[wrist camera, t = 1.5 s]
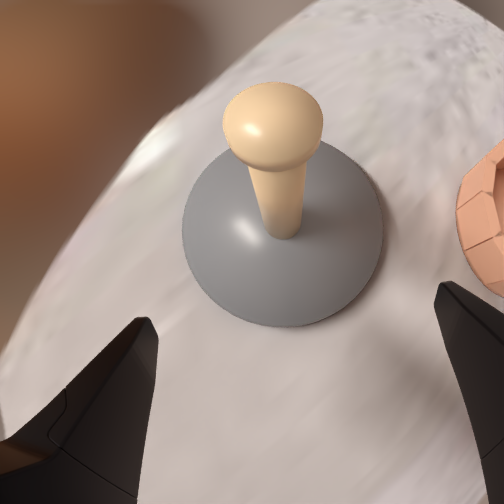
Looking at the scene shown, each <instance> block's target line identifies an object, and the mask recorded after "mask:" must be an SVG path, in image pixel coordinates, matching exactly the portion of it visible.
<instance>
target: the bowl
mask: <svg viewBox="0 0 504 504" xmlns="http://www.w3.org/2000/svg"><path fill="white" fill-rule="evenodd" d="M456 224H457V231H458V236H459V240H460V243H461V246H462V249H463V252H464V255H465V257H466V259H467V261H468V263H469V265H470V267H471V269H472V270H473V272H474V273H475V275H476V276H477V278H478V279H479V280H480V281H481V282H482V283H483V284H484V285H485V286H486V287H487V288H488V289H489V290H490V291H492V292H493V293H495V294H497V295H499V296H501V297H504V139H503V140H502V141H501V142H500V143H499V144H498V145H497V146H495V147H494V148H493V149H492V150H491V151H490V152H489V153H488V154H487V155H486V156H485V157H484V158H483V159H482V160H481V161H480V162H479V163H478V164H476V165H475V166H474V167H473V168H472V169H471V170H470V171H469V172H468V173H467V174H466V175H465V176H464V177H463V181H462V184H461V186H460V188H459V192H458V195H457V201H456Z"/></svg>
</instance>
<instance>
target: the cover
mask: <svg viewBox="0 0 504 504" xmlns="http://www.w3.org/2000/svg"><path fill="white" fill-rule="evenodd" d="M322 128H323V114H322V111H321V108H320V106H319V104H318V103H317V101H316V100H315V99H314V98H313V97H312V96H311V95H310V94H309V93H308V92H306V91H305V90H303V89H301V88H299V87H297V86H294V85H291V84H287V83H281V82H267V83H261V84H257V85H254V86H251V87H249V88H247V89H245V90H243V91H242V92H240V93H239V94H238V95H236V96H235V97H234V98H233V99H232V100H231V102H230V103H229V104H228V106H227V108H226V110H225V113H224V117H223V129H224V133H225V136H226V139H227V142H228V144H229V147H230V149H228V150H226V151H225V152H224V153H222V154H221V155H219V156H218V157H217V158H216V159H215V160H214V161H213V162H212V163H210V164H209V165H208V167H207V168H206V169H205V170H204V171H203V172H202V174H201V175H200V177H199V178H198V180H197V181H196V183H195V184H194V186H193V188H192V190H191V192H190V194H189V197H188V200H187V203H186V206H185V210H184V215H183V224H182V238H183V246H184V251H185V256H186V259H187V262H188V265H189V267H190V269H191V271H192V273H193V275H194V277H195V279H196V281H197V282H198V284H199V285H200V286H201V288H202V289H203V291H204V292H205V293H206V294H207V295H208V296H209V297H210V298H211V299H212V300H213V301H214V302H215V303H217V304H218V305H219V306H220V307H222V308H223V309H224V310H226V311H228V312H229V313H231V314H233V315H234V316H236V317H239V318H241V319H243V320H246V321H248V322H251V323H255V324H259V325H263V326H271V327H295V326H301V325H306V324H310V323H313V322H317V321H320V320H322V319H324V318H326V317H329V316H331V315H333V314H334V313H336V312H337V311H339V310H341V309H342V308H344V307H345V306H346V305H347V304H348V303H350V302H351V301H352V300H353V299H354V298H355V297H356V296H357V295H358V294H359V293H360V292H361V290H362V289H363V288H364V287H365V285H366V284H367V282H368V281H369V279H370V278H371V276H372V274H373V272H374V270H375V267H376V265H377V262H378V259H379V256H380V253H381V248H382V242H383V220H382V212H381V208H380V204H379V201H378V198H377V196H376V193H375V191H374V189H373V187H372V185H371V183H370V182H369V180H368V178H367V177H366V176H365V174H364V173H363V172H362V170H361V169H360V168H359V167H358V166H357V165H356V164H355V163H354V162H353V161H352V160H351V159H350V158H349V157H348V156H346V155H345V154H344V153H343V152H341V151H339V150H338V149H336V148H335V147H333V146H331V145H329V144H327V143H325V142H322V141H321V135H322Z"/></svg>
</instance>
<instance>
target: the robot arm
mask: <svg viewBox="0 0 504 504" xmlns="http://www.w3.org/2000/svg"><path fill="white" fill-rule="evenodd" d="M434 309H435V313H436V316H437V319H438V323H439V326H440V329H441V333H442V336H443V340H444V344H445V347H446V350H447V353H448V356H449V358H450V361H451V364H452V367H453V369H454V372H455V375H456V378H457V381H458V384H459V386H460V389H461V392H462V395H463V399H464V402H465V405H466V408H467V411H468V415H469V418H470V421H471V425H472V428H473V432H474V436H475V440H476V443H477V447H478V451H479V455H480V459H481V465H482V469H483V474H484V479H485V484H486V489H487V495H488V500H489V504H504V314H503V313H502V312H500V311H499V310H497V309H496V308H494V307H493V306H491V305H489V304H488V303H486V302H485V301H483V300H482V299H480V298H479V297H477V296H475V295H474V294H472V293H471V292H469V291H467V290H466V289H464V288H463V287H461V286H459V285H458V284H456V283H455V282H453V281H446V282H441V283H440V284H439V286H438V290H437V294H436V298H435V301H434ZM158 342H159V340H158V335H157V332H156V330H155V328H154V326H153V324H152V322H151V320H150V319H149V318H148V317H136V318H135V319H134V320H133V321H132V322H131V323H130V324H128V325H127V326H126V327H125V328H124V329H123V330H122V331H121V332H120V333H119V334H118V335H117V336H116V337H115V338H114V339H113V340H112V341H111V342H110V343H109V344H108V345H107V346H106V347H105V348H104V349H103V350H102V351H101V352H100V353H99V354H98V355H97V356H96V357H95V358H94V359H93V360H92V361H91V362H90V363H89V364H88V365H87V366H86V367H85V368H84V369H83V370H82V371H81V372H80V373H79V374H78V375H77V376H76V377H75V378H74V379H73V380H72V381H71V382H70V383H69V384H68V385H67V386H66V388H64V389H63V390H62V391H61V392H60V393H59V394H58V395H57V396H56V397H55V398H54V399H53V400H52V401H51V402H50V403H49V404H48V405H47V406H46V407H44V408H43V409H42V410H41V411H40V412H39V413H38V414H37V415H36V416H34V417H33V418H32V419H31V420H30V421H29V422H28V423H26V424H25V425H24V426H23V427H22V428H21V429H19V430H18V431H17V432H16V433H15V434H14V435H12V436H11V437H9V438H8V439H6V440H3V441H0V504H137V497H138V489H139V481H140V474H141V466H142V459H143V453H144V446H145V440H146V433H147V427H148V421H149V415H150V409H151V404H152V398H153V393H154V387H155V379H156V366H157V354H158Z"/></svg>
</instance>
